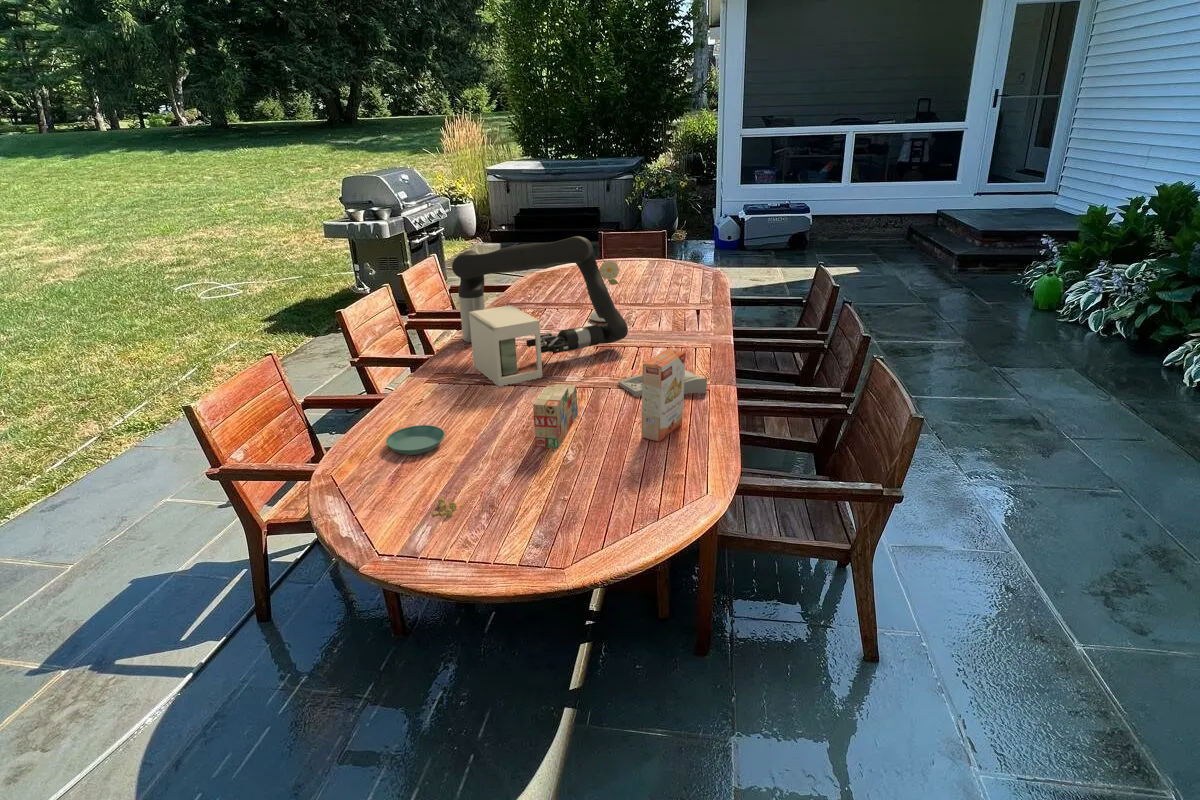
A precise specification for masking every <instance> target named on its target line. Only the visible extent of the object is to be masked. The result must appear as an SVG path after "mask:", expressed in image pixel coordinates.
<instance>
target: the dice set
mask: <svg viewBox="0 0 1200 800" xmlns="http://www.w3.org/2000/svg"><path fill="white" fill-rule="evenodd" d="M437 504H438V507H439V509H440V511H439V512H438V511H433V512H432V515H433V516H434V517H435V516H438V515H439V514H440V515H441V516H444V515H445V517H446V518H449V519H450V518H451V517H453V511H456V510H457V502H455V501H451V502H449V506H448V507H449V508H447V503H446V500H445V498H444V497H442V498H438V499H437Z"/></svg>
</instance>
